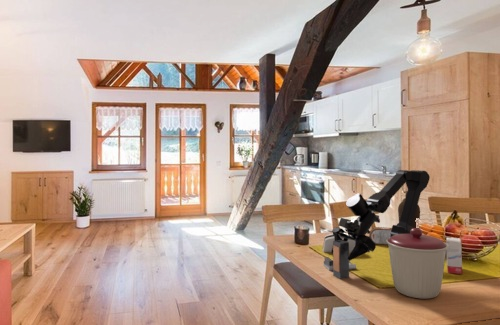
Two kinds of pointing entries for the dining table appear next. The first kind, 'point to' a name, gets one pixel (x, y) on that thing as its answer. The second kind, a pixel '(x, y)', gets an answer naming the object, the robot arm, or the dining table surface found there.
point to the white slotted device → (329, 243)
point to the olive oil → (417, 214)
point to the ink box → (454, 256)
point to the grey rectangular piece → (329, 264)
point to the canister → (417, 263)
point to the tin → (380, 235)
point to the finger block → (340, 259)
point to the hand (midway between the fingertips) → (340, 256)
